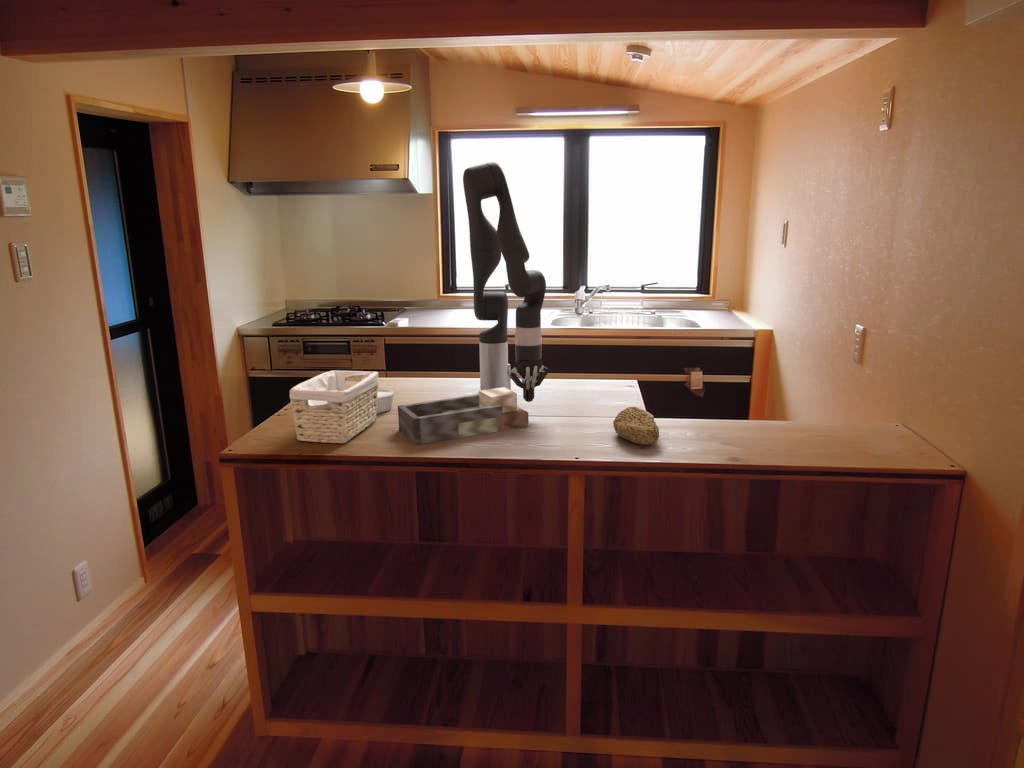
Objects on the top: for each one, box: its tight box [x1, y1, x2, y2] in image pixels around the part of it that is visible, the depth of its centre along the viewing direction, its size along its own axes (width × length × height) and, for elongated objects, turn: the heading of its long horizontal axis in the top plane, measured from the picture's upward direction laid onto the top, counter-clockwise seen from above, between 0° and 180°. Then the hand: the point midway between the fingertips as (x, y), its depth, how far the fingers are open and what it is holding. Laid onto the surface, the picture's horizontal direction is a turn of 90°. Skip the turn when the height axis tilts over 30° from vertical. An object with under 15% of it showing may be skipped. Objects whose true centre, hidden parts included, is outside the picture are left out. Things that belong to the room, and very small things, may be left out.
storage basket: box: [289, 369, 380, 444], centre depth 188 cm, size 24×16×15 cm
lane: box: [397, 393, 529, 446], centre depth 190 cm, size 33×14×7 cm, turn 117°
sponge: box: [612, 406, 660, 446], centre depth 181 cm, size 13×8×20 cm
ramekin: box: [376, 388, 395, 414], centre depth 209 cm, size 11×11×5 cm
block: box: [478, 387, 518, 413], centre depth 194 cm, size 8×8×5 cm
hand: (528, 400), depth 199 cm, fingers closed
